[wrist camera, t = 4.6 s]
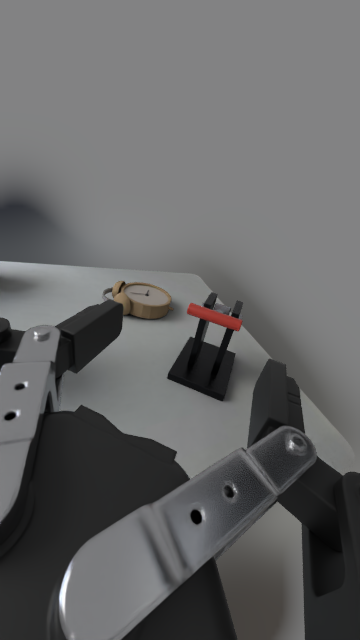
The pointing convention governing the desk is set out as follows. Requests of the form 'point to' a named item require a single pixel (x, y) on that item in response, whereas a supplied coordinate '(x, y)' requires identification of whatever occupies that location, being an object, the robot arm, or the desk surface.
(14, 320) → the desk surface
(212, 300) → the switch bracket
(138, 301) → the alarm clock
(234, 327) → the lever
